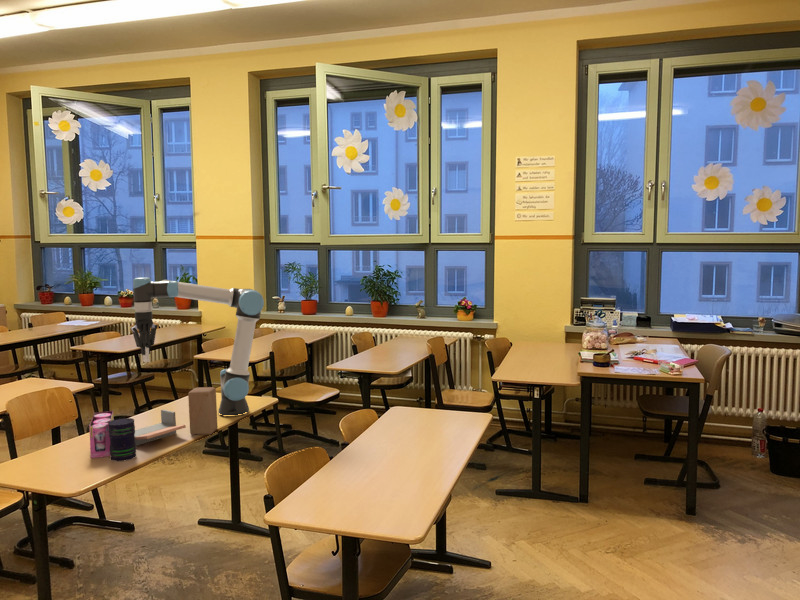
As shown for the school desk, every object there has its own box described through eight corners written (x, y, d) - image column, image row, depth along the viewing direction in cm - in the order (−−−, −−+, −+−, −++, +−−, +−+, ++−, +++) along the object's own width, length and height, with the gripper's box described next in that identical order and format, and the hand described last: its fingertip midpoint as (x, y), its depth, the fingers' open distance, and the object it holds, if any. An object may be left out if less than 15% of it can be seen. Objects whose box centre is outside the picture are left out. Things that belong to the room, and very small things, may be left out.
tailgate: (173, 425, 281) (185, 424, 276) (173, 428, 281) (185, 427, 276) (134, 437, 266) (146, 436, 261) (135, 439, 266) (147, 439, 261)
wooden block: (211, 435, 280) (209, 391, 278) (189, 435, 280) (187, 392, 278) (218, 428, 290) (216, 386, 288) (197, 428, 290) (195, 387, 288)
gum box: (111, 457, 253) (109, 424, 252) (89, 459, 250) (87, 427, 249) (115, 440, 275) (113, 410, 274) (95, 442, 272) (93, 412, 271)
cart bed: (164, 430, 288) (163, 409, 287) (176, 433, 283) (175, 412, 282) (119, 443, 270) (118, 421, 269) (131, 447, 265) (130, 424, 264)
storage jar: (113, 463, 245) (111, 426, 244) (107, 457, 253) (104, 421, 252) (139, 457, 252) (137, 421, 250) (132, 451, 259) (130, 416, 258)
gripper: (151, 309, 293) (153, 358, 295) (125, 312, 282) (128, 363, 284) (160, 310, 288) (163, 360, 290) (135, 312, 278) (138, 364, 280)
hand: (146, 361), depth 287 cm, fingers closed
